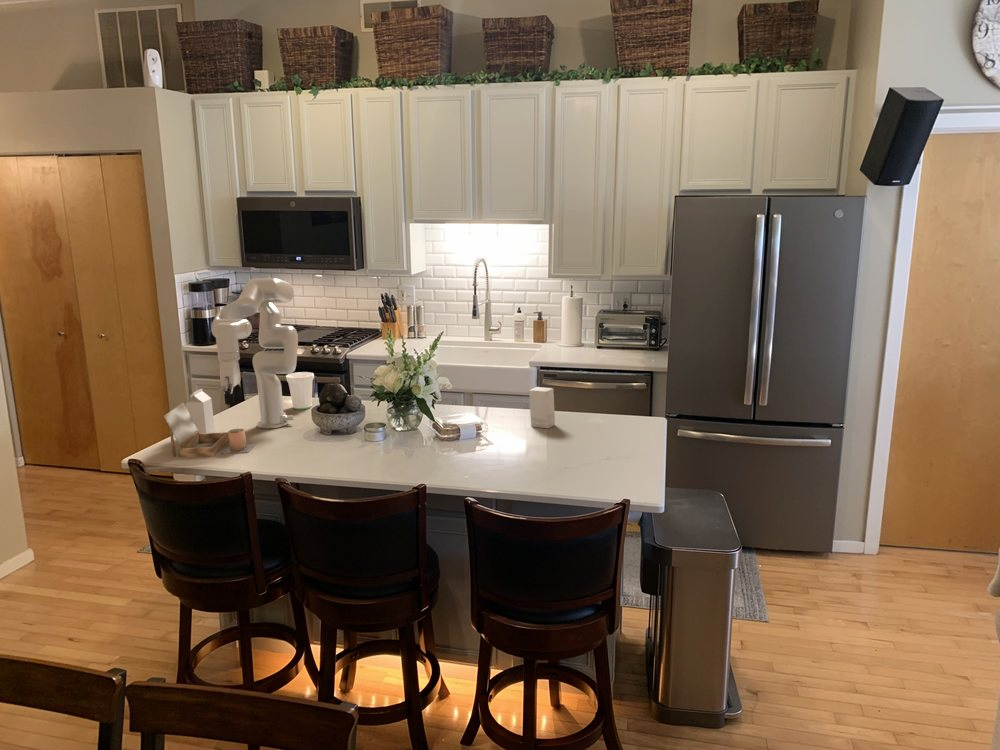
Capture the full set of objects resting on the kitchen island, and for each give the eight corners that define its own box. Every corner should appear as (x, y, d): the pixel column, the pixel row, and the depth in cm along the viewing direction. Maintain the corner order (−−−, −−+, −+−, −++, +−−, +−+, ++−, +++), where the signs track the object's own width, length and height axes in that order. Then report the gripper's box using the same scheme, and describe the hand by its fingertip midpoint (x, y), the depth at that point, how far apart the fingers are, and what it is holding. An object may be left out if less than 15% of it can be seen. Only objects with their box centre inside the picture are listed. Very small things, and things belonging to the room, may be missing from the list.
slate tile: (255, 445, 291) (255, 444, 291) (248, 453, 281) (248, 452, 281) (228, 446, 290) (228, 445, 290) (221, 454, 280) (220, 453, 280)
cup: (315, 410, 341) (312, 377, 338) (286, 411, 340) (284, 378, 337) (317, 403, 353) (315, 371, 350) (290, 404, 352) (287, 372, 349)
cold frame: (229, 440, 298) (225, 400, 294) (213, 456, 278) (209, 414, 275) (187, 442, 297) (182, 402, 293) (168, 458, 278) (163, 415, 274)
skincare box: (555, 425, 308) (555, 388, 305) (547, 429, 303) (547, 391, 300) (537, 422, 313) (537, 386, 309) (529, 426, 307) (528, 389, 304)
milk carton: (215, 433, 308) (210, 388, 304) (206, 438, 301) (201, 392, 297) (198, 433, 309) (193, 388, 305) (190, 438, 302) (184, 392, 298)
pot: (248, 445, 289) (246, 428, 287) (244, 450, 283) (242, 432, 281) (232, 446, 288) (230, 428, 287) (228, 451, 282) (225, 433, 281)
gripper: (225, 351, 286) (230, 395, 290) (211, 361, 269) (216, 407, 273) (245, 350, 286) (250, 394, 290) (232, 360, 270) (237, 406, 274)
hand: (233, 400), depth 282 cm, fingers open, 9 cm apart
